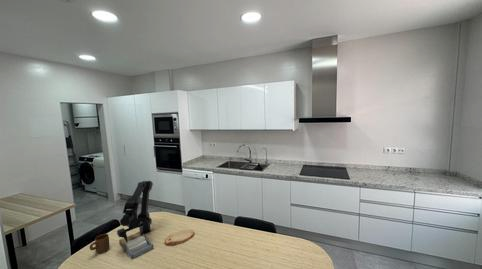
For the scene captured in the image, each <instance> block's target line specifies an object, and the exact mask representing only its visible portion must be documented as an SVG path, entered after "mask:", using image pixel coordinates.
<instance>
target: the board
mask: <svg viewBox="0 0 482 269" xmlns="http://www.w3.org/2000/svg"><path fill="white" fill-rule="evenodd" d="M140 236H141V235H140V231H138V232H135V233H133V234H130V235H127V240H128V242H129V241H131V240H133V239H136V238H138V237H140ZM142 236H144V237H145V238H147V236H146V235H145V234H143V235H142ZM147 239H148V238H147ZM119 245H120V247H121V248H122V250H123V251H124V252H126V248H125V247H127V246H126V241H125V239H124V237H123V238H120V239H119Z"/></svg>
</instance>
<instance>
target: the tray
mask: <svg viewBox="0 0 482 269" xmlns="http://www.w3.org/2000/svg"><path fill="white" fill-rule="evenodd" d="M145 240H146V241H147V245H145V246H143V247H141V248H138V249H136V250H134V251H132V252H131V251H130V250H129V249H128V247H125V248H126V251H125V252H126V254H127V255H128V257H129V258H130V259H131V260H134V259H136V258H139V257H140V256H142V255H144V254H146V253H148V252H150V251H152V250H154V248H155V247H154V243H152V241H151V240H150V239H148V238H145Z"/></svg>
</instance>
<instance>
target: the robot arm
mask: <svg viewBox="0 0 482 269" xmlns="http://www.w3.org/2000/svg"><path fill="white" fill-rule="evenodd" d="M153 186H154V183H153V182H152V180H143V181H139V182H138V183H137V186H136V188H135V189H134V191H133V194H132V196H131V197H129V198H128V199H127V200H126V202H125V203H124V206H123V211H122V214H123V216H122V218H121V219H120V220H119V222H120V225H121V226H122V228H121V229H120V228H119V229H118V230H117V231H116V235H117V236H118V237H119V238H121V239H123V238H124V239H125V241H126V242H128V240H127V236H128V235H127V233H129V232H130V231H133V230H135V229H138V228H139V232H140V235H141V236H142V235H143V234H144V235H145V234H148V233H150V232H152V229H151V225H152V222H153V221H152V220H153V219H152V218H151V217H150V212H149V211H148V210H149V200H150V199H149V198H150V192H151V190H152V188H153ZM141 195H142V196H141ZM140 197H141V206H140V201H139V200H140ZM139 206H140V212H139V214H138V209H139ZM124 227H127V228H126V229H125V228H124Z"/></svg>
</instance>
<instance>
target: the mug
mask: <svg viewBox="0 0 482 269" xmlns="http://www.w3.org/2000/svg"><path fill="white" fill-rule="evenodd" d="M109 236H110V235H109V234H108V233H103V234H99V235H97V236H96V237H95V239H94V241H93V242H92V243H91V244H89V250H90V251H95V252H96V254H100V255H101V254H103V253H105V252H108V251H109V249H110V237H109ZM93 246H94V247H93Z"/></svg>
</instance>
